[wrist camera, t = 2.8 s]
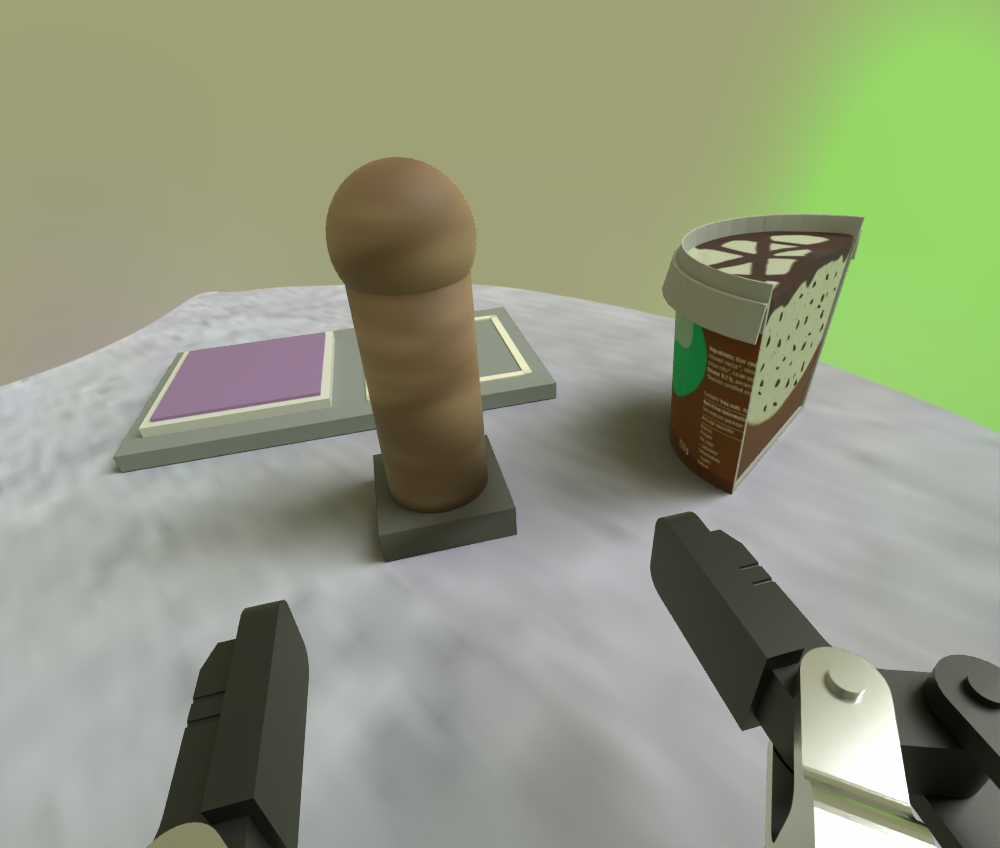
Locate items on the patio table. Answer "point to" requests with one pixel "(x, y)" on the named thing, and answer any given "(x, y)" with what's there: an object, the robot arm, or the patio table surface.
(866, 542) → the patio table surface
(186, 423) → the stamping board
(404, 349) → the stamp
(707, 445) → the food container
